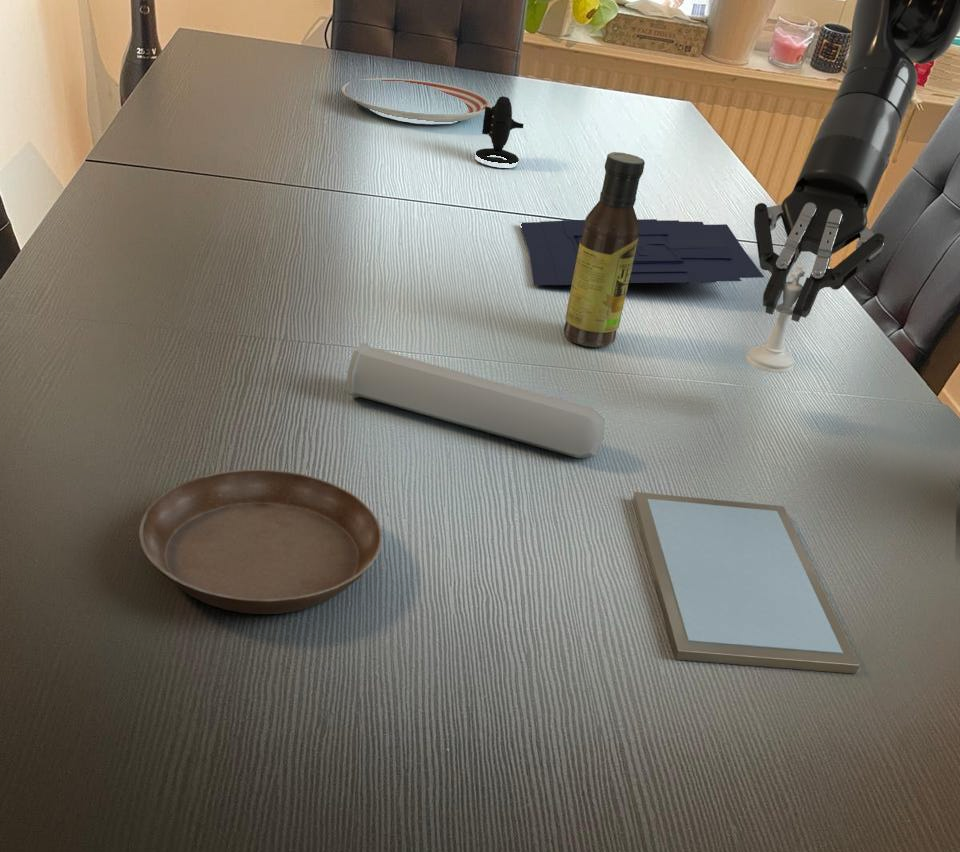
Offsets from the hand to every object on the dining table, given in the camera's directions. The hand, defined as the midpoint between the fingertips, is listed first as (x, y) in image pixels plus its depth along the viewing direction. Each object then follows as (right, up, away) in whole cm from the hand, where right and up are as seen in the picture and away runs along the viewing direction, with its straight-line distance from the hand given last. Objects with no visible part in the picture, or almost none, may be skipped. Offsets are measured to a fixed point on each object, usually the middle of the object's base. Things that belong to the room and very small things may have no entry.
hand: (782, 313), depth 100 cm
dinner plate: (-42, +66, +89) cm, 119 cm away
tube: (-30, -12, -1) cm, 32 cm away
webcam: (-27, +48, +71) cm, 90 cm away
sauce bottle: (-17, +3, +19) cm, 26 cm away
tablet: (-9, -27, -16) cm, 33 cm away
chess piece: (0, -4, +5) cm, 6 cm away
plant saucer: (-46, -26, -22) cm, 58 cm away
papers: (-9, +19, +40) cm, 45 cm away
